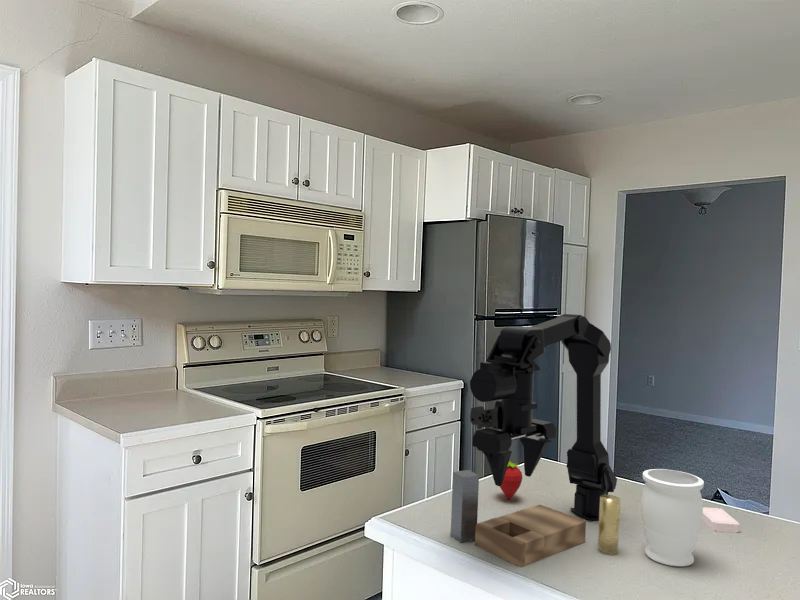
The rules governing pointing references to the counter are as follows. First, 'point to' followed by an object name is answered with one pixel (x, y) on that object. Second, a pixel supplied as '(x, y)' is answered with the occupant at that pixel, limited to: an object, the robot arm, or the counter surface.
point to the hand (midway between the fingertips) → (513, 480)
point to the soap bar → (719, 520)
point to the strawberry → (511, 480)
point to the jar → (671, 515)
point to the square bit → (464, 505)
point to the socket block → (530, 534)
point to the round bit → (609, 524)
